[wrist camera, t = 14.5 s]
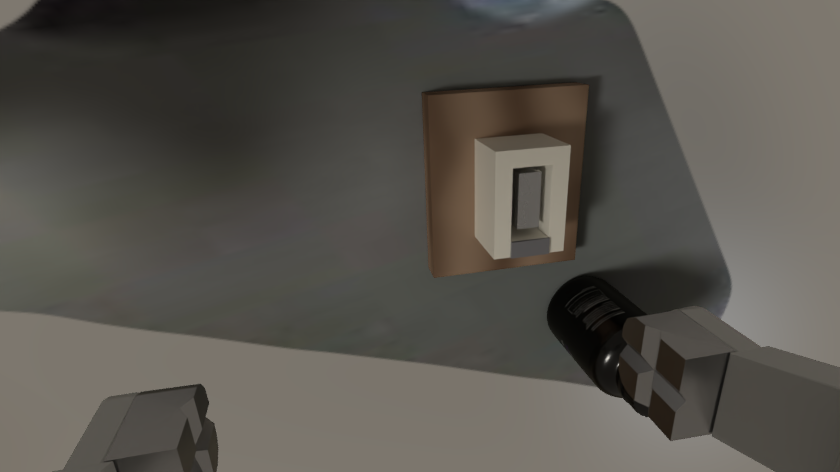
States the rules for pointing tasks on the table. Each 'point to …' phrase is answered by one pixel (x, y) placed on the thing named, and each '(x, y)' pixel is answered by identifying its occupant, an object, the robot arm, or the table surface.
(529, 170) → the tall grey block
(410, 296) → the table surface
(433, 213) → the board
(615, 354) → the supplement bottle
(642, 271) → the table surface
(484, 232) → the open rectangular brace
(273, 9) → the table surface
